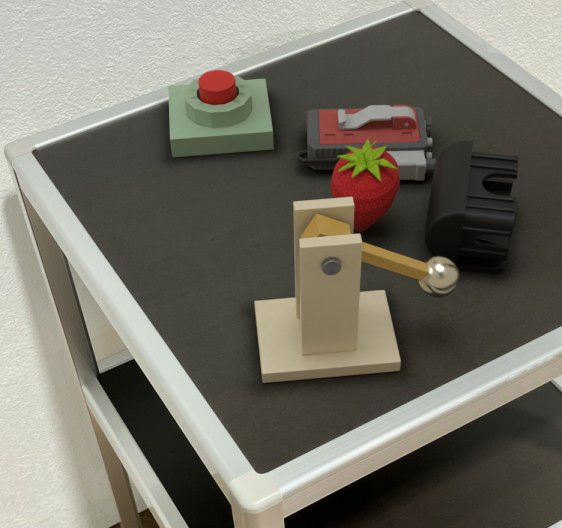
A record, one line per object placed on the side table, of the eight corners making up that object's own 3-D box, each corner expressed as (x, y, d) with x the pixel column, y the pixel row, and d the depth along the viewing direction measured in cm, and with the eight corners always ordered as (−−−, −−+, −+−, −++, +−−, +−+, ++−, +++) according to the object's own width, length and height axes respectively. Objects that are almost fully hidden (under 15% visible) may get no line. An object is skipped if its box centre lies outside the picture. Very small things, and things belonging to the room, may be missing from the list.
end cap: (431, 195, 90) (438, 135, 85) (508, 203, 89) (520, 143, 84) (420, 269, 84) (427, 209, 79) (502, 278, 83) (515, 218, 78)
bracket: (384, 299, 82) (393, 179, 72) (400, 371, 77) (412, 253, 67) (254, 310, 82) (246, 191, 72) (262, 383, 76) (254, 266, 67)
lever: (440, 281, 78) (463, 254, 75) (448, 310, 75) (472, 283, 73) (297, 235, 72) (318, 204, 70) (302, 264, 70) (323, 234, 68)
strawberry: (403, 207, 89) (411, 116, 82) (385, 262, 85) (393, 171, 77) (341, 197, 91) (343, 106, 83) (320, 250, 86) (321, 159, 78)
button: (235, 83, 96) (234, 68, 95) (237, 104, 94) (236, 89, 93) (199, 86, 96) (197, 71, 95) (200, 107, 94) (198, 92, 93)
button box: (266, 96, 101) (264, 62, 98) (273, 149, 95) (272, 115, 92) (170, 103, 101) (166, 70, 98) (172, 157, 95) (167, 123, 92)
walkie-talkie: (296, 187, 92) (508, 182, 91) (295, 149, 88) (515, 144, 88) (295, 130, 97) (495, 126, 97) (294, 92, 94) (501, 87, 93)
